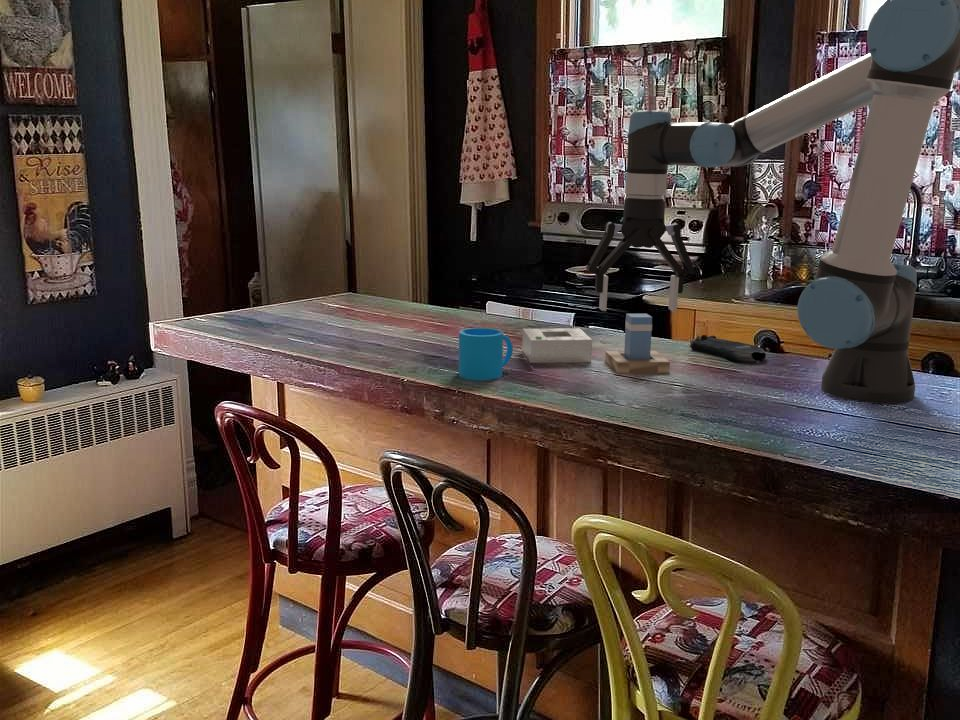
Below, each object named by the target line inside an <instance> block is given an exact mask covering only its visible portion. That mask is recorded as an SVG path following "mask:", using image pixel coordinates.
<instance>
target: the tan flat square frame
mask: <svg viewBox="0 0 960 720" xmlns="http://www.w3.org/2000/svg"><path fill="white" fill-rule="evenodd" d="M604 357H605V358H604V359H605V360H604V362H606V364H607V365H608V366H609V367H610V368H611V369H613V371H615V373H617V374H628V373H629V374H642V373H645V374H652V373H654V374H656V373H659V374H660V373H663V374H664V373H670V371H671V370H670V369H671V368H670V367H671V362H670V361H669V360H668V359H667V358H666V357H665V356H663V355H661V354H660V353H659V352H657V351H656V350H650V359H643V360H626V359H625V358H624V350H606V351H605V354H604Z"/></svg>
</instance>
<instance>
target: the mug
mask: <svg viewBox="0 0 960 720" xmlns="http://www.w3.org/2000/svg"><path fill="white" fill-rule="evenodd" d="M504 341H505V344H506V353H505V355H504V357H503V353H504V348H503V347H504ZM513 347H514V346H513V343H512V341H511V339H510V338H509V337H508V336H507V335H506V334H504V331H503V330H499V329H497V328H496V329H495V328H488V327H472V328H471V327H470V328H465V329H461V330H459V331H458V376H459V377H460V378H462V379H466V380H470V381H471V380H473V381H489V380H497V379H500V378H502V377H503V367H505V366H507V364H508V363H509V362H510V360H511V358H512V355H513V351H514V350H513Z"/></svg>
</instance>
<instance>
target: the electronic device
mask: <svg viewBox="0 0 960 720" xmlns="http://www.w3.org/2000/svg"><path fill="white" fill-rule="evenodd" d="M689 347H690V348H691V350H692V351H695V352H700V353H704V354H709V355H713V356H719V357H722V358H723V359H724V360H725V359H726V360H727V361H730V362H733V361H734V363H743V364H744V363H745V364H754V363H756V364H759V363H760V362H763V361H764V360H765V359H766V357H767V352H766V351H765V350H764V348H762V347H760V346H758V345H753V344H749V343H745V342H740V341H733V340H727V339H723V338H717V336H715V335H711V336H708V335H707V334H702V335H701V336H699V337H698V336H697V337H696V338H692V339H691V341H690V344H689ZM753 357H754V358H758V359H759V360H755V359H754V358H753Z"/></svg>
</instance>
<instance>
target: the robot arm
mask: <svg viewBox="0 0 960 720" xmlns="http://www.w3.org/2000/svg"><path fill="white" fill-rule="evenodd" d="M866 44H867V47H868V48H867V49H868V51H869V53H867V54H865V55H863V56H862V57H859V58H857V59H855V60H853V61H852V62H850V63H848V64H845V65H843V66H841V67H839V68H838V69H836V70H833V71H832V72H830V73H827V74H826V75H823V76H822V77H820V78H818V79H816V80H814V81H812V82H810V83H808V84H806V85H803V86H802V87H799V88H798V89H796V90H793V91H792V92H789V93H788V94H785V95H783V96H782V97H780V98H778V99H776V100H774V101H772V102H770V103H767V104H765V105H763V106H762V107H760V108H757V109H755V110H754V111H752V112H750V113H748V114H746V115H745V116H741V117H740V118H738V119H737V120H735V121H732V122H730V123H724V122H718V121H704V122H696V121H694V122H693V121H692V122H676V121H673V120H672V113H670V111H666V110H635V111H633V112H632V113H631V114H630V118H629V126H628V132H627V136H626V137H627V155H626V156H627V157H626V158H627V159H626V171H625V172H626V173H625V188H624V193H625V195H627V197H625V199H624V200H623V201H624V202H623V216H622V222H621V224H618V223H613V222H611V221H608V222H606V223H605V228H604V233H603V236H602V238H601V239H600V241H599V242H598V245H597V246H596V248H595V249H594V250H595V251H594V252H593V254H592V256H591V257H590V259H589V261H588V263H587V264H586V267H585V269H586V271H588V272H590V273H592V274H594V275H595V283H594V290H595V292H596V293H598V294H599V304H598V305H599V306H598V308H599V310H600V311H601V312H607V306H608V305H607V304H608V303H607V301H608V288H609V287H608V285H609V276H608V275H606V273H607V272H608V271H609V270H610V269H611V268H612V267H613V265H614V264H615V263H616V262H617V261H618V260H619V259H620V258H621V256H622V255H623V254H624V253H625V252H626V251H627V250H629V249H630V247H633V248H637V249H638V248H643V247H644V248H647V249H651V248H653V247H654V248H655V249H656V250H657V251H658V253H659V255H661V257H662V258H663V259H664V261H665V262H666V263H667V264H668V266H669V267H670V269H671V270H672V271H673V273H674V274H675V275H674V274H672V275H670V281H669V295H668V296H669V297H668V310H669V311H671V312H677V310H678V309H677V308H678V296H679V295H678V294H683V291H684V283H685V282H684V279H685V278H686V276H687V275H690V274H691V275H692V274H694V273H695V267H694V265H693V262H692V260H691V257H690V255H689V253H688V250H687V248H686V247H687V246H686V245H685V243H684V240H683V238H682V232H681V231H682V230H681V229H682V228H681V225H680V224H679V223H675V222H673V223H671V224H665V213H666V200H665V198H663V197H665V196H666V195H667V185H668V184H667V183H668V182H667V181H668V171H669V170H668V169H669V166H683V167H684V166H685V167H702V168H706V169H707V168H716V167H717V168H718V167H720V168H721V167H732V168H738V167H743V166H746V165H749V164H752V163H754V161H756V160H757V159H758V158H759V156H760V155H762V154H764V153H765V152H767V151H770V150H772V149H774V148H777V147H779V146H781V145H784V144H785V143H788V142H789V141H792V140H794V139H796V138H798V137H801V136H802V135H805V134H807V133H809V132H811V131H813V130H815V129H818V128H820V127H822V126H824V125H826V124H829V123H831V122H833V121H836V120H838V119H840V118H842V117H844V116H846V115H849V114H850V113H853V112H855V111H857V110H859V109H862V108H864V107H865V106H868V105H869V106H870V107H869V109H868V110H869V111H868V114H867V118H866V121H865V126H864V129H863V134H862V137H861V141H860V145H859V147H858V152H857V155H856V160H855V164H854V166H853V167H854V168H853V170H852V171H853V172H852V175H851V178H850V183H849V186H848V188H847V189H848V190H847V194H846V196H845V197H846V198H845V201H844V206H843V210H842V213H841V217H840V220H839V224H838V229H837V232H836V236H835V239H834V243H833V247H832V248H831V249H830V250H828V251H826V252H825V253H824V254H823V253H822V255H820V256H819V257H820V258H819V261H818V265H817V268H816V273H815V275H814V276H815V277H814V280H813V281H811V282H810V283H808V284H807V286H805V288H804V289H803V290H802V292H801V294H800V296H799V298H798V301H797V317H798V322H799V325H800V326H801V328H802V330H803V331H804V332H805V334H806V335H807V336H808V338H810V339H811V341H813V342H814V343H816V344H818V345H819V346H822V347H824V348H827V349H834V350H833V352H832V355H831V357H830V358H829V361H828V363H827V365H826V368H825V369H824V372H823V374H822V377H821V383H820V384H821V385H820V387H821V390H822V391H823V392H824V393H825V394H828V395H830V396H833V397H836V398H840V399H843V400H849V401H854V402H861V403H871V404H902V403H907V402H910V401H913V399H914V398H915V391H916V383H915V378H914V374H913V370H912V365H911V361H910V357H909V347H910V346H909V345H910V339H911V332H912V324H913V323H912V322H913V314H914V306H915V300H916V299H915V298H916V291H917V288H918V283H917V278H918V277H917V274H918V273H917V270H916V268H915V267H914V266H913V265H909V264H901V263H893V262H892V260H891V258H892V253H893V250H894V247H895V243H896V240H897V235H898V232H899V230H900V229H899V228H900V225H901V221H902V218H903V215H904V211H905V208H906V204H907V200H908V197H909V193H910V190H911V187H912V183H913V179H914V177H915V172H916V169H917V165H918V161H919V159H920V155H921V152H922V148H923V144H924V141H925V138H926V134H927V130H928V127H929V122H930V120H931V116H932V114H933V113H932V112H933V109H934V105H935V103H936V102H937V101H938V100H939V99H941V98H943V97H944V96H945V95H947V94H948V93H950V91H951V87H952V85H953V84H952V83H953V80H954V77H955V74H957V73H958V72H960V0H885V1H883V3H881V5H879V7H878V8H877V9H876V11H875V12H874V14H873V16H872V17H871V19H870V21H869V24H868V28H867V33H866ZM619 231H620V232H621V234H622V235H623V238H622V239H621V240H619V242H618V245H617V246H615V248H613V250H612V251H611V252H610V253H609V254H608V255H607V256H606V257H605V259H604V260H603V261H602V259H603V257H604V255H605V253H606V251H607V250H608V247H609V246H610V244H611V242H612V240H613V238H614V237H615V236H616V235H617V234H618V232H619ZM666 232H667V234H668V236H670V238H671V240H672V243H673V244H674V248H675V250H676V253H677V255H678V257H679V259H680V262H681V264H682V266H681V265H680V264H679V262H678V261H677V260H676V258H675V257H674V256H673V255H672V253H671V252H670V250H669V248H667V246H666V244H665V243H664V242H663V240H662V239H661V238H662V237H663V236H664V234H665V233H666ZM601 261H602V262H601ZM600 262H601V263H600Z"/></svg>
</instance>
